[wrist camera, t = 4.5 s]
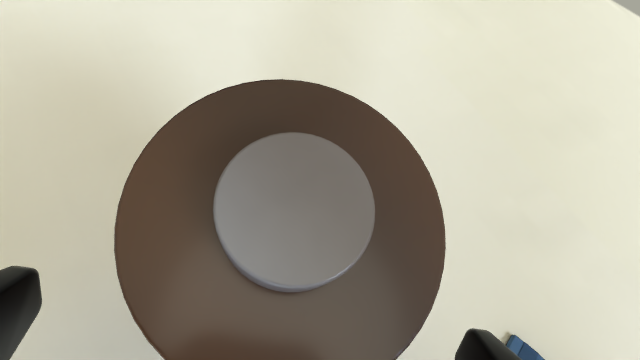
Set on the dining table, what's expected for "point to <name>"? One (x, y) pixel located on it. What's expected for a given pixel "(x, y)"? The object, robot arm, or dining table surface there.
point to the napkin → (522, 349)
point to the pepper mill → (279, 229)
